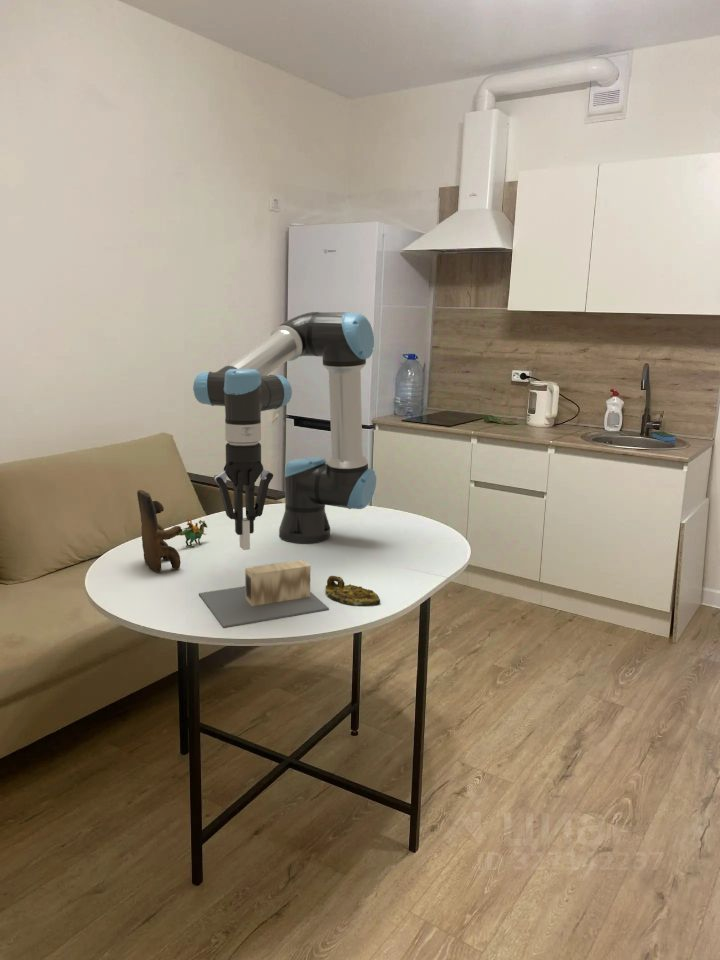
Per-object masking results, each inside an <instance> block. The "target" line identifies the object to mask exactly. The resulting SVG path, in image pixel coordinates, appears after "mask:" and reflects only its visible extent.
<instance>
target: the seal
mask: <svg viewBox="0 0 720 960" xmlns="http://www.w3.org/2000/svg"><path fill="white" fill-rule="evenodd" d="M336 582H337V583H336ZM324 588H325V589H324V594H325V596H326V597H327V598H328V599H329V600H331V601H333V602H336V603H339V604H342V605H346V606H351V607H370V606H371V607H372V606H373V607H375V606H377V605H379V604H380V603H381V598H380V597H379V596H378V594H377V593H376V592H374V590H373V589H367V588H363V586H358V585H354V584H353V585H352V584H347V585H345V581H344V579H343V578H342V577H341V576H336V575H330V576H328V578H327V580H326V586H325V587H324Z"/></svg>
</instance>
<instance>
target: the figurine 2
mask: <svg viewBox="0 0 720 960" xmlns="http://www.w3.org/2000/svg"><path fill="white" fill-rule="evenodd" d="M186 525H187V527H185V528H184V529H183V530H182V532H181V533H179V534H178V535H177V536H176V537H178V536H184V537H185V544H186V547H188V546H189V548H195V546H193V545H192V543H193V542H195V544H199V545H201V546H203V543H201V541H200V540H201V539H202V535H205V536H206V535H207V533H205V529H204V528H208V525H207V523H206V521H205V520H201V519H200V520H199V521H198V522H195V525H194V524H193V523H192V520H191V519H190V518H188V519H187V523H186ZM199 525H200V526H199Z"/></svg>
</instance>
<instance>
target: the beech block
mask: <svg viewBox="0 0 720 960" xmlns="http://www.w3.org/2000/svg"><path fill="white" fill-rule="evenodd" d="M244 570H245V571H244V572H245V573H244V575H245V576H244V577H245V582H244V583H245V586H246V600H247V601H248V602H249V603H250V605H251V606H256V605H263V604H269V603H275V602H281V601H287V600H293V599H299V598H306V597H310V592H311V565H310V564H309V563H307V562H306V561H305V560H304V559H299V560H293V561H285V562H280V563H279V562H278V563H272V564H264V565H256V566H249V567H245V568H244Z"/></svg>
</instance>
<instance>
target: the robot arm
mask: <svg viewBox="0 0 720 960" xmlns="http://www.w3.org/2000/svg"><path fill="white" fill-rule="evenodd" d="M374 347H375V337H374V332H373V327H372V324H371V322H370V321H369V320H368V318H367V317H366V316H365V315H364V314H361V313H355V312H350V311H349V312H348V311H347V312H346V311H345V312H341V311H340V312H338V311H337V312H319V311H312V312H310V311H309V312H307V313H302V314H300V315H297V316H295V317H293V318H290V319H289V320H286V321H284V322H283V323H281V324H279V325H278V326H276V327H275V328H274V329H273V330H272V331H271V333H270V335H269V337H267V338H266V339H264V340H262V341H260V343H258V344H257V345H255V346H254V347H252V348H250V349H249V350H248V351H246V352H244V353H243V354H241V355H240V356H239V357H237V358H235V359H233V360H232V361H231V362H230V363H228V364H227V365H225V366H223V367H222V368H221V369H219V370H217V371H202V372H199V373H198V374H197V375H196V377H195V378H194V381H193V385H192V386H193V387H192V389H193V394H194V397H195V399H196V401H198V403H200V404H202V405H209V406H212V407H214V406H216V407H217V406H218V407H219V406H220V407H224V413H225V418H224V419H225V420H224V421H225V425H224V431H225V433H224V436H225V439H224V440H225V441H226V442H227V443H226V444H225V465H224V467H223V471H222V472H220V473H219V474H218V475H217V474H216V475H214V476H213V480H214V482H215V483H216V484H217V486H218V489H219V493H220V496H221V501H222V505H223V507H224V511H225V515H226V517H228V518H229V519H230V520H234V532H235V534H236V535H238V536H239V548H241V549H242V550H243V551H247V550H248V551H249V550H250V549H251V534H253V533H254V532H255V529H254V528H255V524H254V523H255V520H256V518H257V517H262V515H263V512H264V509H265V508H264V507H265V502H266V498H267V495H268V494H267V493H268V490H269V486H270V483H271V481H272V480H273V478H274V474H273V473H272V472H270V471H268V470H266V469H264V465H263V464H262V444H261V443H260V441H261V440H262V426H261V423H262V421H261V418H262V417H261V415H262V412H265V411H270V410H277V409H280V408H282V407H285V406H287V405H288V404H289V402H290V401H291V399H292V395H293V394H292V393H293V390H292V385H291V383H290V381H289V380H288V378H286V377H285V376H284V375H280V374H272V373H273V372H274V371H275V370H277V369H278V368H280V367H281V366H282V365H283V364H285V363H286V362H287V361H289V362H291V361H294V360H297V359H298V358H299V357H320V358H321V357H322V358H321V359H322V367H324V368H325V369H326V370H327V371H328V385H329V386H328V387H329V391H328V393H329V416H330V421H329V422H330V443H331V444H330V446H331V447H330V448H331V456H330V457H329V458H328V459H327V461H326V458H324V457H322V456H316V457H315V456H313V457H312V456H311V457H302V458H297V459H292V460H290V461H288V462H287V463H286V464H285V467H284V469H285V470H284V504H285V505H284V507H285V508H284V512H283V517H282V519H281V522H280V526H279V527H278V528H279V530H278V536H279V538H280V539H281V540H283V541H284V542H289V543H296V544H314V543H319V542H325V541H327V540H328V539H330V538H331V526H330V523H329V519H328V517H327V513H326V506H331V507H336V508H337V507H338V508H343V509H344V508H345V509H348V510H362V509H365V508H366V507H367V506H368V505H369V504H370V502H371V501H372V498H373V497H374V494H375V491H376V485H377V474H376V471H375V470H374V469H372V468H369V460H368V458H366V457H365V456H364V455H363V429H362V428H363V427H362V426H363V421H362V418H363V417H362V380H361V379H362V378H361V377H362V376H361V375H362V374H361V372H362V369H363V368H364V367H365V366H366V365H367V359H369V358H370V357H371V356H372V355H373V352H374ZM227 478H228V479H229V480H230V481H231V483H232V485H233V486H232V487H233V504H232V501H231V496H230V493H229V489H228V486H227V482H228V480H227ZM258 478H260V481H259V484H258V490H257V493H256V499H255V488H256V482H257V481H258ZM244 488H245V489H244ZM244 490H245V491H244ZM243 491H244V493H245V495H243V494H244V493H243ZM243 496H245V497H244V498H245V517H244V507H243V506H244V505H243V504H244V499H243Z"/></svg>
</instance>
